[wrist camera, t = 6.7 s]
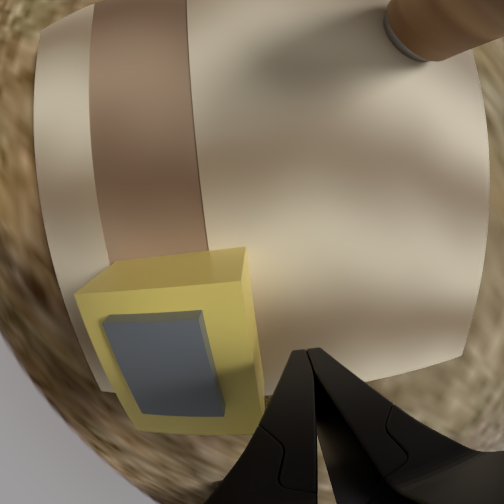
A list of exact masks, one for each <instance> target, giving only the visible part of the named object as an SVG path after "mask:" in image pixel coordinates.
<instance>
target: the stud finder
mask: <svg viewBox="0 0 504 504" xmlns="http://www.w3.org/2000/svg"><path fill="white" fill-rule="evenodd" d="M74 296H75V299H76V302H77V305H78V308H79V310H80V313H81V316H82V319H83V321H84V324H85V327H86V329H87V332H88V334H89V337H90V339H91V342H92V344H93V346H94V349H95V351H96V353H97V356H98V358H99V360H100V362H101V365H102V367H103V369H104V371H105V373H106V375H107V377H108V379H109V381H110V383H111V385H112V387H113V389H114V391H115V393H116V395H117V397H118V399H119V401H120V403H121V405H122V406H123V408H124V410H125V412H126V414H127V415H128V417H129V419H130V420H131V422H132V424H133V426H134V427H135V429H136V430H138V431H147V432H157V433H169V434H185V435H251V434H254V432H255V430H256V428H257V427H258V424H259V422H260V420H261V418H262V416H263V414H264V412H265V403H264V377H263V369H262V362H261V355H260V348H259V340H258V333H257V326H256V318H255V311H254V304H253V296H252V289H251V281H250V274H249V266H248V259H247V251H246V247H237V248H228V249H219V250H210V251H201V252H193V253H184V254H175V255H167V256H158V257H150V258H141V259H133V260H124V261H116V262H114V263H113V264H112V265H110V266H109V267H108V268H106V269H105V270H104V271H102V272H101V273H100V274H99V275H97V276H96V277H95V278H93V279H92V280H91V281H90V282H88V283H87V284H86V285H85V286H83V287H82V288H81V289H80V290H78V291H77V292H76V293H75V294H74Z"/></svg>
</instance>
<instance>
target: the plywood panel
mask: <svg viewBox="0 0 504 504" xmlns="http://www.w3.org/2000/svg"><path fill="white" fill-rule="evenodd" d="M390 1H391V0H103V1H101V2H98V3H96V4H92V5H90V6H87V7H85V8H83V9H81V10H79V11H77V12H74V13H72V14H70V15H68V16H66V17H64V18H62V19H60V20H59V21H57V22H55V23H53V24H51V25H49V26H48V27H46V28H44V29H42V30H41V33H40V39H39V46H38V53H37V62H36V72H35V87H34V146H35V160H36V172H37V181H38V189H39V196H40V203H41V209H42V215H43V221H44V226H45V231H46V236H47V240H48V245H49V249H50V253H51V257H52V261H53V265H54V269H55V273H56V276H57V280H58V283H59V287H60V290H61V293H62V296H63V299H64V302H65V306H66V308H67V311H68V314H69V317H70V320H71V323H72V325H73V328H74V331H75V333H76V336H77V338H78V341H79V343H80V346H81V348H82V351H83V353H84V355H85V358H86V360H87V362H88V364H89V367H90V369H91V371H92V373H93V375H94V377H95V379H96V381H97V383H98V385H99V387H100V389H101V391H105V392H113V393H115V391H114V389H113V387H112V385H111V383H110V381H109V379H108V377H107V375H106V373H105V371H104V369H103V367H102V365H101V362H100V360H99V358H98V356H97V353H96V351H95V349H94V346H93V344H92V342H91V339H90V337H89V334H88V332H87V329H86V327H85V324H84V321H83V319H82V316H81V313H80V310H79V308H78V305H77V302H76V299H75V296H74V294H75V293H76V292H77V291H78V290H80V289H81V288H82V287H83V286H85V285H86V284H87V283H88V282H90V281H91V280H92V279H93V278H95V277H96V276H97V275H99V274H100V273H101V272H102V271H104V270H105V269H106V268H108V267H109V266H110V265H112V264H113V263H114V262H116V261H124V260H133V259H141V258H150V257H158V256H167V255H175V254H184V253H193V252H201V251H210V250H219V249H228V248H237V247H246V251H247V259H248V266H249V274H250V281H251V289H252V296H253V304H254V311H255V318H256V326H257V333H258V340H259V348H260V355H261V362H262V369H263V377H264V396H266V395H273V392H274V390H275V388H276V386H277V383H278V381H279V379H280V377H281V374H282V372H283V370H284V367H285V365H286V363H287V360H288V358H289V356H290V353H291V351H293V350H299V349H305V350H307V349H308V348H316V347H320V348H322V349H323V350H324V351H325V352H327V353H328V354H329V355H331V356H332V357H333V358H334V359H336V360H337V361H338V362H339V363H341V364H342V365H343V366H345V367H346V368H347V369H348V370H350V371H351V372H352V373H354V374H355V375H356V376H358V377H359V378H360V379H361V380H363V381H364V382H367V381H372V380H377V379H381V378H386V377H390V376H394V375H398V374H402V373H406V372H410V371H414V370H417V369H421V368H424V367H428V366H431V365H434V364H438V363H441V362H444V361H447V360H450V359H453V358H456V357H459V356H461V355H462V352H463V349H464V346H465V343H466V340H467V336H468V333H469V329H470V326H471V322H472V318H473V314H474V310H475V306H476V301H477V297H478V292H479V287H480V282H481V276H482V270H483V264H484V257H485V249H486V241H487V231H488V218H489V195H490V170H489V148H488V135H487V125H486V117H485V110H484V103H483V97H482V91H481V86H480V81H479V76H478V72H477V67H476V63H475V59H474V55H473V52H472V49H469V50H467V51H464V52H462V53H460V54H457V55H455V56H453V57H450V58H448V59H446V60H443V61H439V62H434V61H429V62H419V61H415V60H413V59H411V58H409V57H407V56H405V55H404V54H403V53H401V52H400V51H399V50H398V49H397V48H396V47H395V46H394V45H393V44H392V42H391V41H390V40H389V38H388V36H387V34H386V32H385V29H384V25H383V19H384V16H385V14H386V13H387V12H386V11H387V6H388V4H389V2H390Z"/></svg>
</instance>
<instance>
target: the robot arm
mask: <svg viewBox="0 0 504 504" xmlns="http://www.w3.org/2000/svg"><path fill="white" fill-rule="evenodd" d="M392 405H393V403H392V402H390V401H389V400H388V399H386V398H385V397H384V396H382V395H381V394H380V393H378V392H377V391H376V390H375V389H373V388H372V387H371V386H369V385H368V384H367V383H365V382H364V381H363V380H361V379H360V378H359V377H358V376H356V375H355V374H354V373H352V372H351V371H350V370H348V369H347V368H346V367H345V366H343V365H342V364H341V363H339V362H338V361H337V360H336V359H334V358H333V357H332V356H331V355H329V354H328V353H327V352H325V351H324V350H323V349H322V348H320V347H316V348H308V349H307V350H305V349H299V350H293V351H291V353H290V356H289V358H288V360H287V363H286V365H285V367H284V370H283V372H282V374H281V377H280V379H279V381H278V383H277V386H276V388H275V390H274V392H273V395H272V397H271V399H270V401H269V403H268V405H267V408H266V410H265V412H264V414H263V416H262V418H261V420H260V422H259V424H258V427H257V428H256V430H255V432H254V434H253V436H252V438H251V440H250V442H249V444H248V445H247V447H246V449H245V451H244V452H243V454H242V455H241V456H240V458H239V459H238V461H237V462H236V464H235V465H234V466H233V468H232V469H231V470H230V472H229V473H228V474H227V475H226V477H225V478H224V479H223V480H222V482H221V483H219V484H218V487H217V488H216V489H215V490H214V492H213V493H212V494H211V495H210V496H209V498H208V499H207V500H206V501H205V502H204V503H203V504H317V493H318V470H317V436H318V439H319V443H320V446H321V450H322V453H323V457H324V460H325V464H326V467H327V471H328V474H329V478H330V481H331V485H332V488H333V492H334V495H335V499H336V503H337V504H504V451H496V452H481V451H476V450H473V449H470V448H468V447H465V446H463V445H461V444H460V443H458V442H456V441H454V440H452V439H450V438H448V437H446V436H444V435H442V434H440V433H438V432H437V431H435V430H433V429H431V428H429V427H428V426H426V425H424V424H422V423H421V422H419V421H417V420H416V419H414V418H413V417H411V416H410V415H409V414H407V413H406V412H404V411H403V410H401V409H400V408H399V407H397V406H396V405H393V406H392Z"/></svg>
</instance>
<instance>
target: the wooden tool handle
mask: <svg viewBox="0 0 504 504" xmlns="http://www.w3.org/2000/svg"><path fill="white" fill-rule="evenodd" d="M386 12H387V13H386V14H385V16H384V19H383V25H384V29H385V32H386V34H387V36H388V38H389V40H390V41H391V42H392V44H393V45H394V46H395V47H396V48H397V49H398V50H399V51H400V52H401V53H403V54H404V55H405V56H407V57H409V58H411V59H413V60H415V61H419V62H429V61H434V62H439V61H443V60H446V59H448V58H450V57H453V56H455V55H457V54H460V53H462V52H464V51H467V50H469V49H472V48H474V47H477V46H479V45H482V44H485V43H487V42H490V41H492V40H495V39H498V38H501V37H504V0H391V1H390V2H389V4H388V6H387V11H386Z"/></svg>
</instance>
